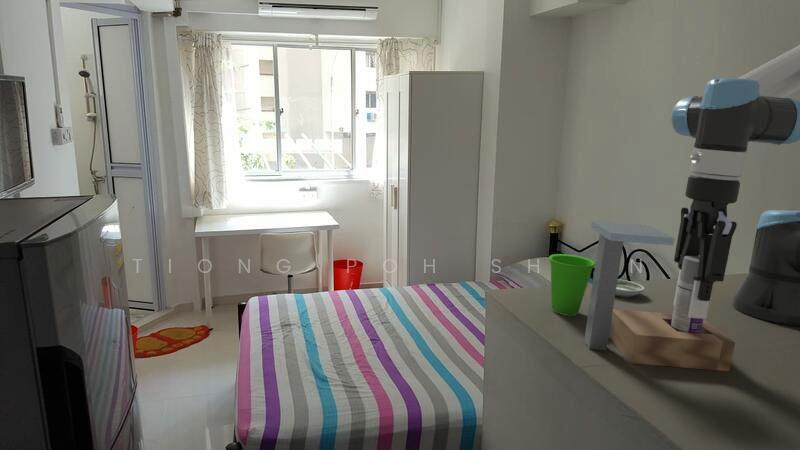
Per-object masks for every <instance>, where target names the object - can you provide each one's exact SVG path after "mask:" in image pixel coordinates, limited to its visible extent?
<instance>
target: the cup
mask: <svg viewBox="0 0 800 450" xmlns="http://www.w3.org/2000/svg"><path fill="white" fill-rule="evenodd" d="M548 260H550V285H551V287H550V288H551V289H550V290H551V293H550V294H551V308H552V311H553V310H555V311H556V312H559V313H562V314H567V315H574V314H577V315H578V313H579V311H580V308H581V305H582V302H583V299H584V297H585V293H586V290H587V287H588V283H589V281H590V277H591V274H592V271H593V267H595V264H596V261H594V260H592V259H590V258H588V257H585V256H582V255H581V256H580V255H574V254H566V253H565V254H564V253H558V254H557V253H556V254H555V253H553V254H551V255H549V256H548ZM556 312H555V313H556ZM574 316H575V315H574Z"/></svg>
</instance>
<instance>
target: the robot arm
mask: <svg viewBox="0 0 800 450" xmlns="http://www.w3.org/2000/svg"><path fill="white" fill-rule="evenodd" d="M704 87H705V88H704V92H703V96H697V95H695V96H694V95H693V96H690V97H684V98H682V99H680V100H679V101H678V102H677V103H675V105H674V106H673V109H672V111H671V118H670V120H671V125H672V128H673V130H674V131H675V132H676V133H677V134H678V135H681V136H683V137H691V138H693V139H695V140H694V145H693V146H694V147H693V151H692V154H690V157H689V158H690V160H691V164H690V168H689V171H690V172H691V173H692V174H693V175H689V176H688V178H687V182H686V188H685V196H686V198H688V199H691V200H692V202H691V204H690V207H682V208H681V209H680V224H679V228H678V229H679V230H678V235H677V241H676V246H675V253H674V258H673V261H674V263H677V268H678V269H679V270H678V271H679V272H678V278H677V281H676V288H675V293H674V300H673V305H672V306H674V305H675V300H676V294H677V288H678V283H679V279H680V274H681V269H682V264H683V260H684V257H685V256H697V257H699V272H698V277H694V284H693V290H692V295H691V300H690V306H689V311H688V317H690V318H701V319H704V320H707V316H708V311H709V307H710V301H711V296H712V292H713V291H712V290H713V287H714V286H713V285H714V283H716V282H720V283H721V282H723V281H724V279H725V273H726V270H727V265H728V260H729V255H730V249H731V245H732V239H733V236H734V234H735V232H736V229H737V226H738V224H737V222H736V221H732V220H731V221H730V220H729V219H728V205H730V204H735V203H736V202H737V201H738V198H739V193H740V192H739V191H740V188H741V182H740V181H739V180H738V178H741V177H742V176H743V174H744V173H743V172H744V169H745V168H744V167H745V162H746V158H747V154H748V153H747V151H748V146H749V143H758V144H759V143H760V144H771V145H777V146H780V145H785V144H786V145H788V144H790V145H791V144H794V143H797V142H799V141H800V100H798V99H793V98H791V97H788V96H790V95H792V94H793V93H795V92H797V91H799V90H800V44H799V45H797V46H795V47H794V48H792V49H789V50H788V51H786V52H784V53H782V54H781V55H779V56H777V57H775V58H773V59H771V60H769V61H768V62H765V63H764V64H762V65H760V66H759V67H756V68H754V69H752V70H751V71H749V72H747V73H746V74H744V75H742V76H740V77H735V78H734V77H733V78H732V77H730V78H729V77H722V78H713V79H711V80H709V81H708V82H707V83H706V84H705V86H704ZM755 230H756V233H755V236H754V243H753V247H752V253H751V259H750V263H749V268H748V273H747V275H746V276H745V278H744V280H742V283H741V284H740V286H739V288H738V289H737V291H736V293H735V294H734V296H733V302H732V306H733V307H734V309H736V310H738V311H739V312H741V313H743V314H746V315H748V316H751V317H755V318H757V319H761V320H764V321H767V322H768V321H769V322H773V323H778V324H782V325H783V324H784V325H790V326H800V210H786V209H771V210H770V209H769V210H765V211H763V212H762V213H761V214H760V218H759V221H758V223H757V227H756V228H755Z"/></svg>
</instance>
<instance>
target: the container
mask: <svg viewBox="0 0 800 450" xmlns="http://www.w3.org/2000/svg"><path fill="white" fill-rule="evenodd" d="M698 272H699V257H697V256H685V257H684V260H683V264H682V269H681V274H680V279H679V283H678V288H677V294H676V300H675V305H673V312H672V314H673V316H672V322H671V327H672V328H673V329H675V330H676V331H677V332H690V333H701V329H702V324H703V319H701V318H690V317H688V311H689V306H690V300H691V295H692V290H693V284H694V277H698Z"/></svg>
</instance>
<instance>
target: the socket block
mask: <svg viewBox="0 0 800 450" xmlns="http://www.w3.org/2000/svg"><path fill="white" fill-rule="evenodd" d="M672 316H673V313H665V312H656V311H655V312H654V311H653V312H652V311H640V310H628V309H627V310H626V309H615V308H613V312H612V318H611V325H610V331H609V338H608V339H610V340H611V341H612V342H613V344H614V345H615V346H616V347H617V348H618V350H619V351H620V352H621V353H622V355H624V357H625V358H626V359H627V360H628V361H629V363H630V364H635V365H636V364H638V365H639V364H640V365H649V366H659V367H661V366H662V367H673V368H684V369H685V368H686V369H687V368H688V369H696V370H697V369H698V370H709V371H721V372H730V370H731V365H732V361H733V356H734V351H735V346H736V342H735V341H734V340H732V339H731V338H730V337H728V336H727V335H725V334H724V333H722V332H721V331H720V330H719V329H718V328H716V327H715V326H713V325H712V324H710V323H709V322H708V321H706V319H703V324H702V329H701V333H690V332H677V331H676V330H675V329H673V328H672V327H671V322H672Z"/></svg>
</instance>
